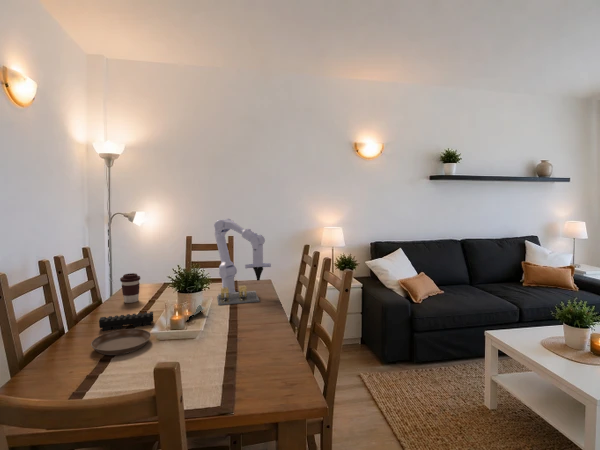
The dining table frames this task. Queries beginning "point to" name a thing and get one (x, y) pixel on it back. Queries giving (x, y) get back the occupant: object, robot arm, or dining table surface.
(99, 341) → the plant saucer
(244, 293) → the sliding leg
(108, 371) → the dining table surface
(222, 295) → the beam with fixed leg
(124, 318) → the rail mount
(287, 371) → the dining table surface
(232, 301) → the bolt plate
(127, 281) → the coffee cup
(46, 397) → the dining table surface
